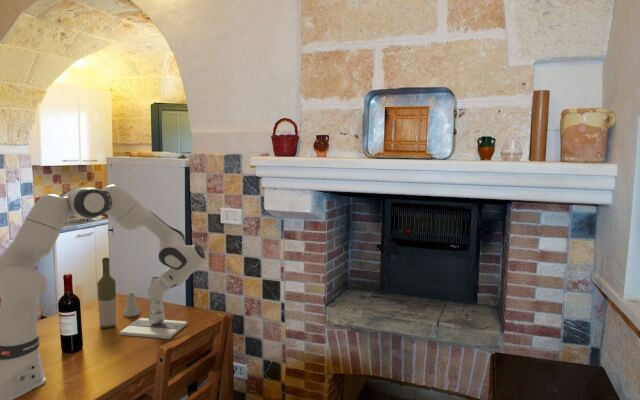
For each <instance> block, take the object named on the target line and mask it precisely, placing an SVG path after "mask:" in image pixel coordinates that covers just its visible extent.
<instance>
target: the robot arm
mask: <svg viewBox="0 0 640 400" xmlns="http://www.w3.org/2000/svg"><path fill="white" fill-rule="evenodd" d="M103 214H106V215H107V216H109V218H110V219H112V220H113V221H114V222H115V223H116V224H117V225H119V226H120V227H121V228H123V229H124V230H128V231H130V230H132V231H133V230H136V229H138V228H141V227H145V228H146V229H147V230H148V231H150V232H151V233H152V234H154V235H155V236H156V238H158V241H159V249H158V259H159V262H160V263H161V264H162V265H164V266H165V267H167V269H166V270H165V271H164V272H163V273H162V274H161V275H160V276H158V277H159V280H158V281H157V282H156V283H155V284H154V285H153V287H152V288H151V289H150V290H149V292H148V291H147V295H148V294H149V295H150V297H149V296H148V301H149V300H150V301H152V300H153V299H154V298H156V297H158V296H159V295H161V294H163V293H166V292H167V291H169V290H171V289H172V288H176V287H180V286H182V285H183V284H184V282H185V281H187V280H188V279H190V278H189V277H190V276H191V275H192V274H193V273H196V271H197V270H198V269H199V268H200V266H201V265H203V263H204V262H205V259H206V255H205V251H204V250H203V248H202V247H201V246H200V245H199V244H192V245H187V244H185V242H186V237H185V235H184V232H182V231H180V230H179V229H177V228H174V227H173V226H170V225H169V224H167V223H166V222H165V221H164V220H163V219H161V218H160V217H158V216H157V215H156V214H155V213H154V212H152V211H151V210H149V209H148V208H146V207H145V206H143V205H142V203H140V202H139V201H138V200H137V199H136V198H135V197H134V196H133V195H131V194H130V193H129V191H128V192H127V190H125V189H124V188H122V186H121V187H120V186H119V185H117V184H109V185H106V186H104V187H103V188H102V189H99V188H96V187H87V186H86V187H85V186H84V187H83V186H81V187H77V188H72V189H71V188H70V189H68V190H67V191H65V192H63V194H60V195H58V194H53V193H48V194H44V195H41V197H39V199H38V200H37V201H36V202H35V203H34V205H33V206H32V208H31V209H30V211H29V212H28V213H27V215H26V217H25V219H24V220H23V223H22V225H21V226H20V228H19V230H18V232H17V233H16V235H15V237H14V239H13V240H12V242H11V243H10V244H9V246H8V247H7V248H6V249H5V251H4V252H3V253H2V254H1V255H0V300H1V304H0V400H16V399H18V398H19V397H21V396H23V395H25V394H27V393H29V392H30V391H32V389H33V390H35V389H36V387H37V388H39V387H41V386H42V385H44V384H46V383H47V378H46V373H45V371H44V368H43V362H42V357H41V354H40V350H39V347H40V337H39V336H40V335H39V334H38V323H37V320H38V319H37V313H38V306H39V302H40V299H41V298H42V296H44V294H45V292H46V290H47V286H48V283H47V279H46V277H45V276H44V275H43V274H42V273H41V272H40V271H39V270H37V269H36V268H35V267H36V265H38V263H40V261H41V260H42V259H43V258H45V257H46V256H48V255H49V254H50V253H51V252H52V250H53V247H54V245H55V244H56V242H57V240H58V237H59V236H60V233H61V232H62V230H63V227H64V225H65V224H66V222H67V221H68V220H69V219H70V218H77V219H81V220H82V219H95V218H98V217H99V216H101V215H103ZM163 295H164V294H163ZM34 388H35V389H34Z"/></svg>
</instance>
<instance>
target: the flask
mask: <svg viewBox="0 0 640 400" xmlns="http://www.w3.org/2000/svg"><path fill="white" fill-rule="evenodd" d="M135 295H136V293H135V292H128V293H127V303H126V306H125V309H124V311H123V313H122V316H124V317H127V318H132V317H136V316H139V315H140V314H141V311H140V308H139V306H138V304H137V301H136V298H135Z"/></svg>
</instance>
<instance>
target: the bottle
mask: <svg viewBox="0 0 640 400" xmlns="http://www.w3.org/2000/svg"><path fill="white" fill-rule="evenodd" d="M101 262H102V277H100V279H99V280H98V281H97V285H96V286H97V299H98V300H97V302H98V304H97V305H98V320H99V321H98V323H99V326H100V328H102V329H110V328H113V327H115V326H116V325H117V298H116V297H117V296H116V295H117V291H116V290H117V289H116V285H117V284H116V283H117V282H116V280H115V279H114V278H113V277H112V276H111V273H110V258H109V257H103V258H102V260H101Z"/></svg>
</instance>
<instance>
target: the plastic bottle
mask: <svg viewBox="0 0 640 400" xmlns="http://www.w3.org/2000/svg"><path fill="white" fill-rule="evenodd" d="M159 277H160V276H153V277H150V278H151V279H150V285H149V287H148V289H147V296H148V298H149V297H150V295H149V294H148V292H149V290H150V289H151V288H152V287H153V285H154V284H155V283H156V282H157V281H158V280H159ZM164 293H165V292H164ZM164 293H163V294H161V295H159V296H158V297H156V298H154V299H153V300H152V301H150V300H149V299H148V301H149V310H148V311H149V312H148V317H147V318H148V319H149V322H150V323H151V324H159V323H162V322H163V321H164V320H166V315H165V310H164Z"/></svg>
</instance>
